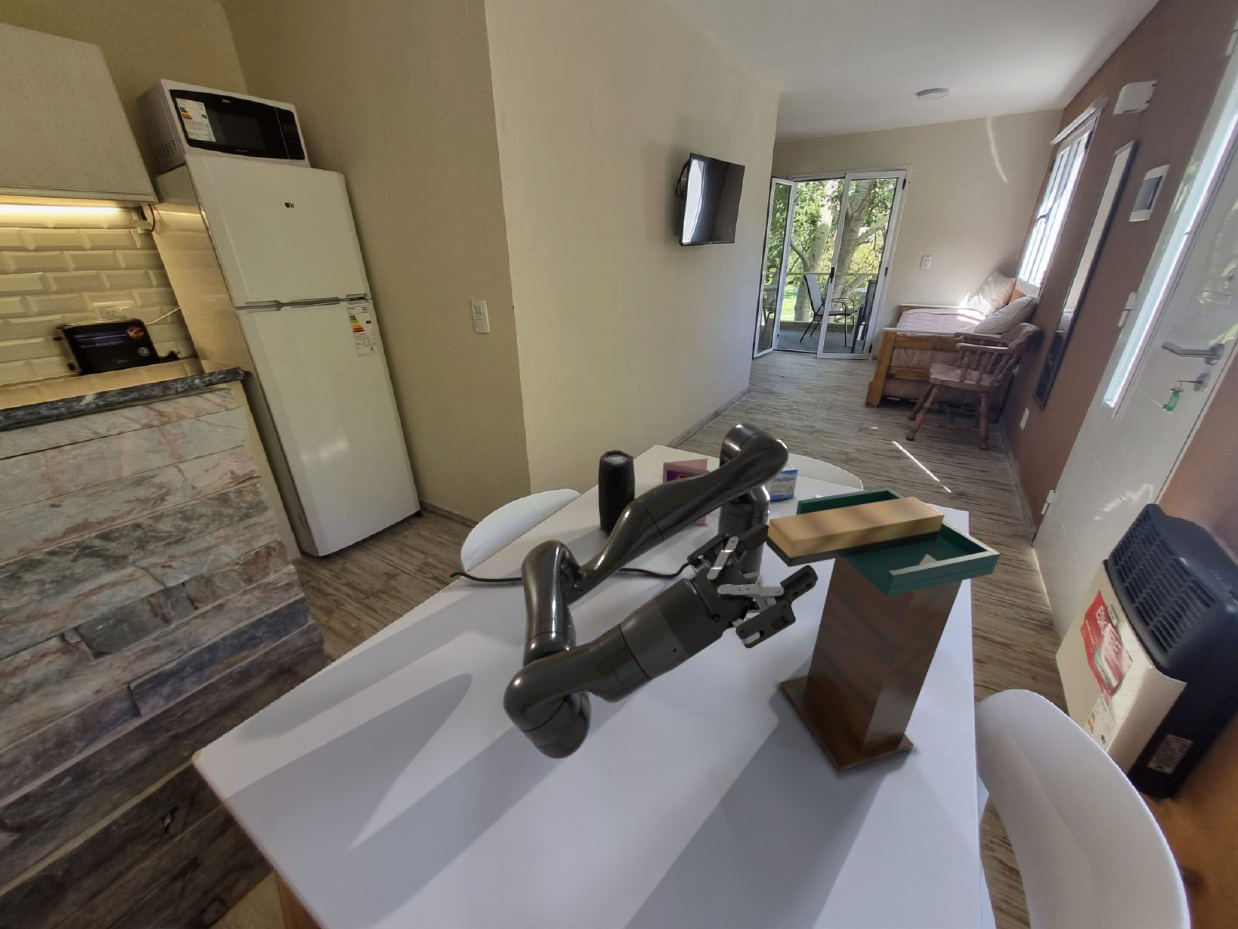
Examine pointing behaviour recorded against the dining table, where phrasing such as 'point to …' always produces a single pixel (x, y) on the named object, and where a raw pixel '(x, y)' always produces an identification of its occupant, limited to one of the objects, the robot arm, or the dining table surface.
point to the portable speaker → (614, 487)
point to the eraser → (852, 530)
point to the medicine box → (783, 484)
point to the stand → (868, 666)
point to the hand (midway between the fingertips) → (790, 548)
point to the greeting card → (685, 472)
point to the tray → (911, 551)
